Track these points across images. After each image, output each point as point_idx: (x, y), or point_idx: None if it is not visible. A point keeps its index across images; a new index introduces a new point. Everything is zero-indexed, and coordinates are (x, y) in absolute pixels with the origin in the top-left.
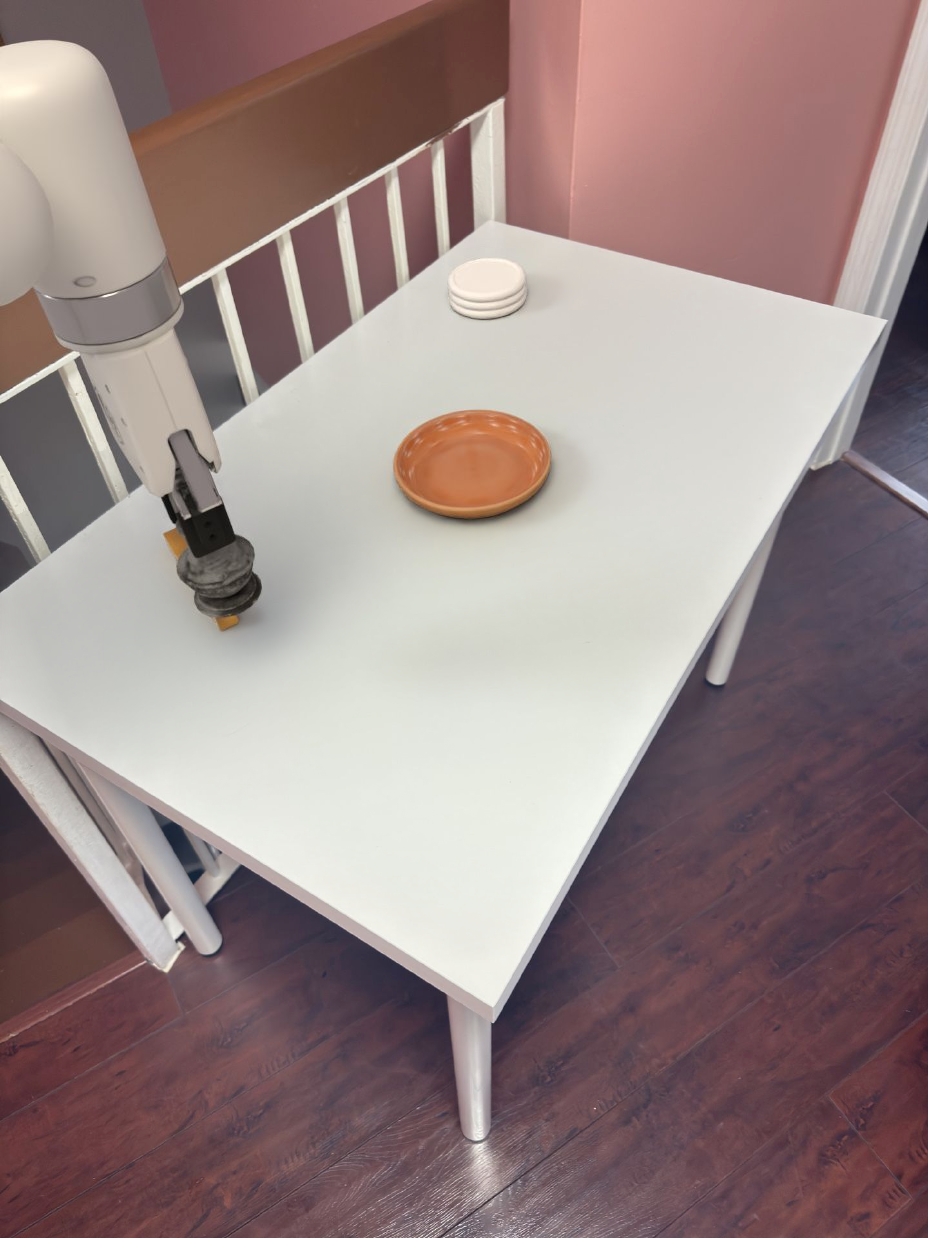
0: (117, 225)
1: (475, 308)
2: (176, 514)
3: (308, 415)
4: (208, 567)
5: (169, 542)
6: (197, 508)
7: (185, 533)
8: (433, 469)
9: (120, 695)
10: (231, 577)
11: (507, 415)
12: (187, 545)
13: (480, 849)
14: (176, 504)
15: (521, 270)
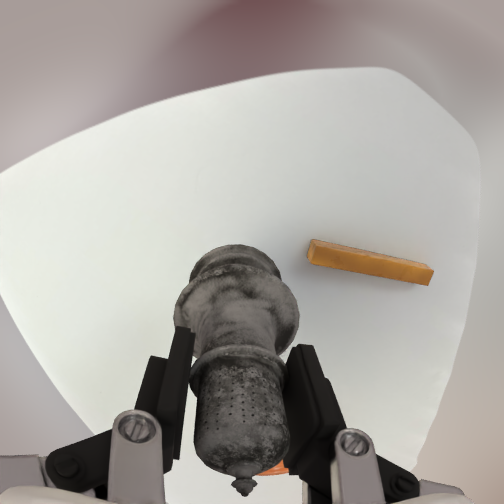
0: None
1: None
2: (168, 411)
3: (415, 398)
4: (206, 313)
5: (422, 269)
6: (34, 461)
7: (166, 369)
8: None
9: (323, 126)
10: (180, 319)
11: (282, 473)
12: (407, 278)
13: (12, 251)
14: (155, 442)
15: None
